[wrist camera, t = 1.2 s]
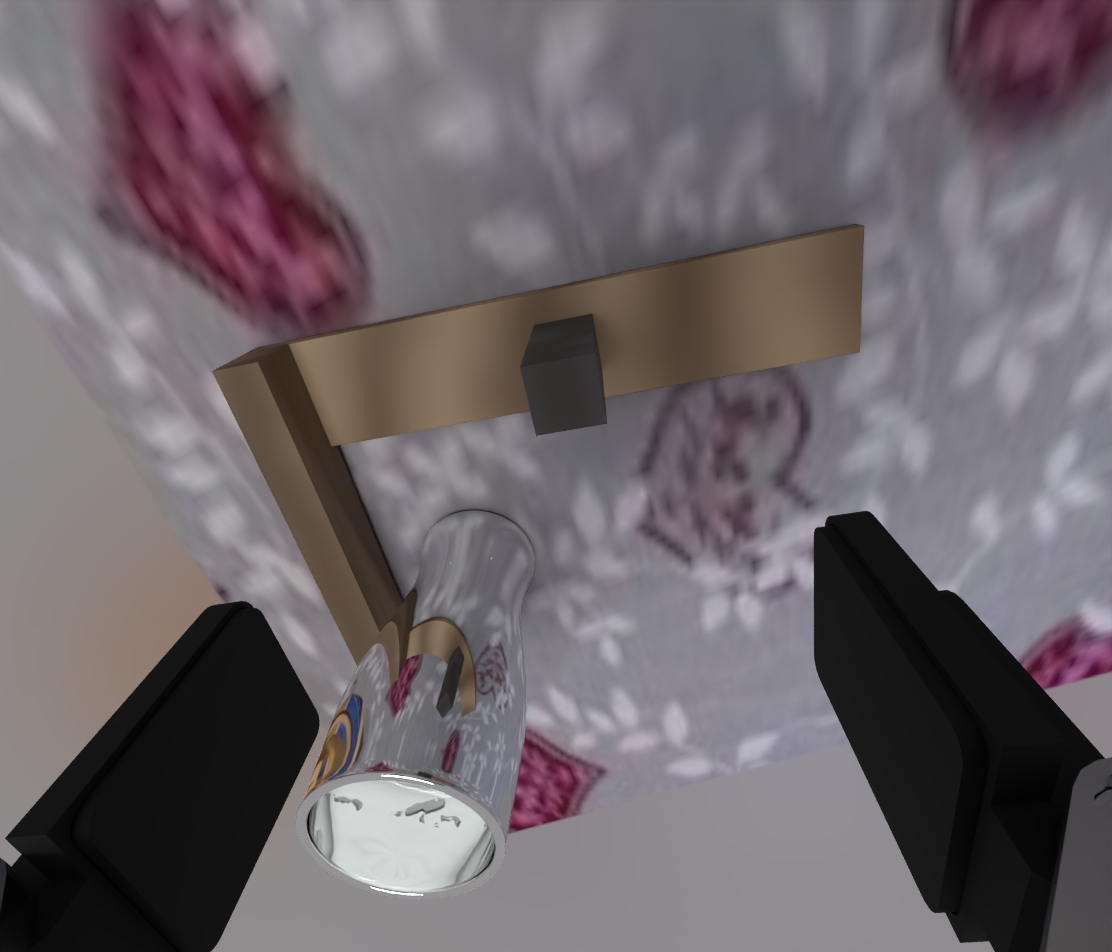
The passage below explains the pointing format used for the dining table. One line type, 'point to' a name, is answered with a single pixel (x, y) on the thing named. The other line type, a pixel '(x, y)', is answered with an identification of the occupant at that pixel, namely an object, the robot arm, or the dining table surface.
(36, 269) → the dining table surface
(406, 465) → the dining table surface
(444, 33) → the dining table surface
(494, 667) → the beer glass
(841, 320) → the brown wooden bent piece
